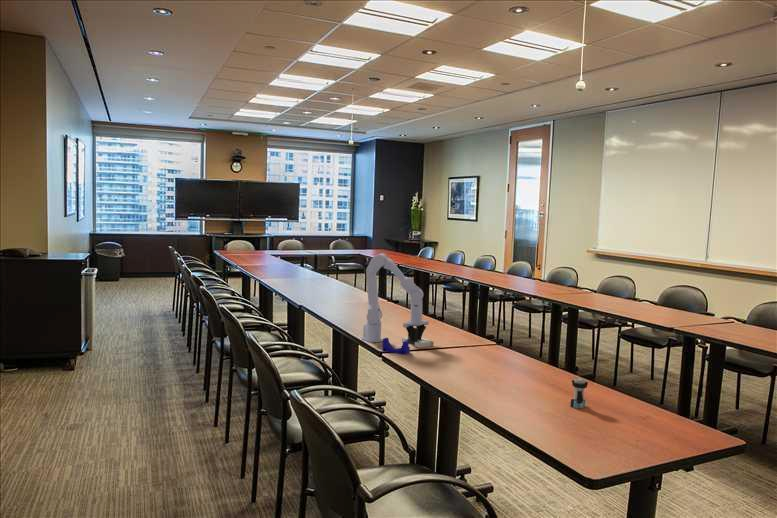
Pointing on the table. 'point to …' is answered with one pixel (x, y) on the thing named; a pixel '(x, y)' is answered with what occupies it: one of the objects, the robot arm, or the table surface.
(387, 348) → the blue curved piece
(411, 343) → the ink cartridge
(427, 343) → the groove holder
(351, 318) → the table surface
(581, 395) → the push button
